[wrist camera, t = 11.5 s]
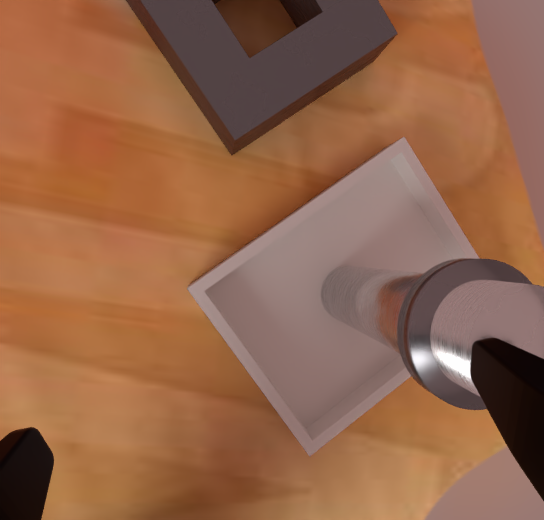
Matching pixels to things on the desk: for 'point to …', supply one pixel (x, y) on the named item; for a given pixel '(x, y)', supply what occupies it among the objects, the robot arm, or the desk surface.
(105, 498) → the desk surface
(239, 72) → the hitch block
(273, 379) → the tray
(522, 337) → the steel pin
